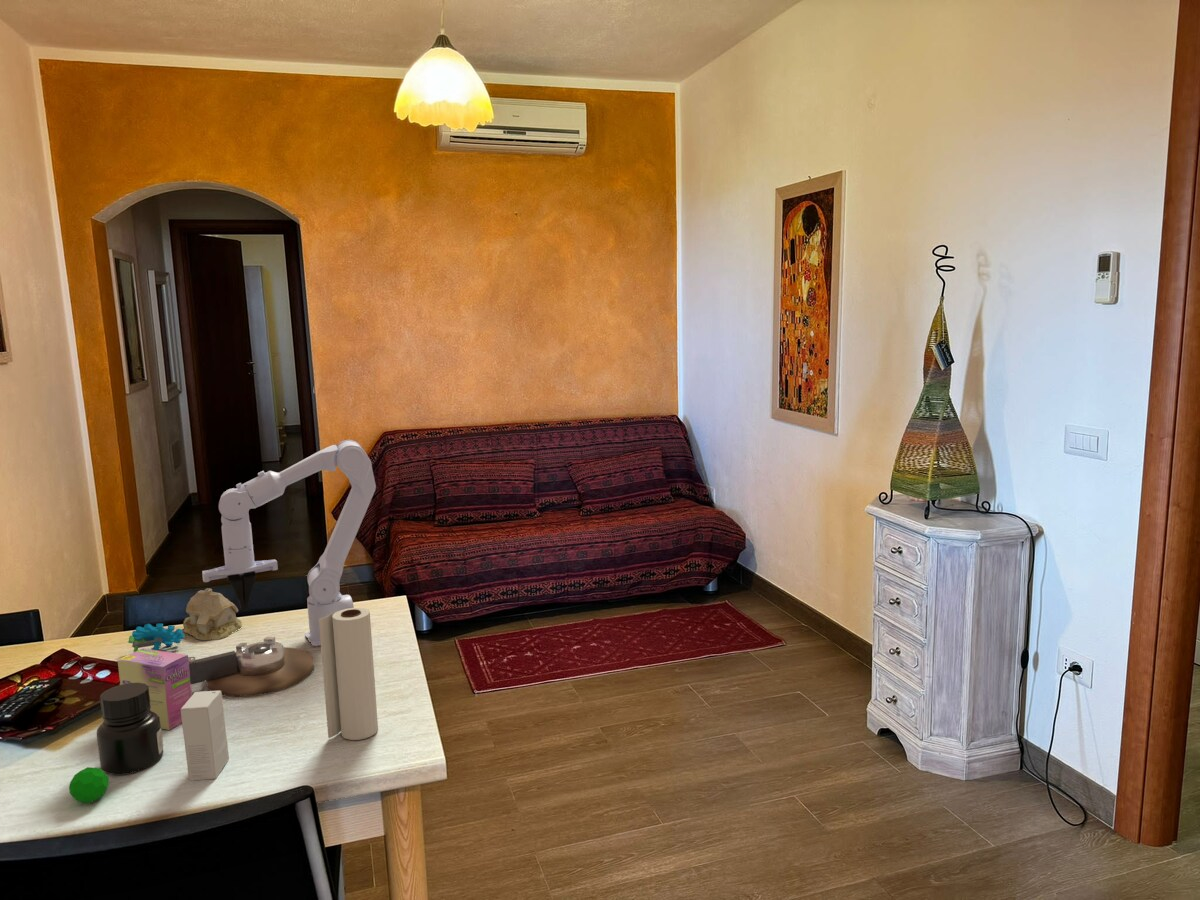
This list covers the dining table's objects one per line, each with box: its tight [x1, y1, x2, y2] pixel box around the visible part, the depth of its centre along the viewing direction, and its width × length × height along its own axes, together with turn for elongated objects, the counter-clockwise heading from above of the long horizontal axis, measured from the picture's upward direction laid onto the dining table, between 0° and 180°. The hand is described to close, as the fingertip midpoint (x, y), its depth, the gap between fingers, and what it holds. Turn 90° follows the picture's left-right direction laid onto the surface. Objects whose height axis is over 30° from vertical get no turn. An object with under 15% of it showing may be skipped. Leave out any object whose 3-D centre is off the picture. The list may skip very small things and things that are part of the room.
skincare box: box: [181, 690, 230, 782], centre depth 132 cm, size 6×4×12 cm
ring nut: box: [188, 636, 285, 685], centre depth 166 cm, size 18×9×5 cm, turn 126°
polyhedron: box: [68, 766, 110, 804], centre depth 126 cm, size 5×5×5 cm
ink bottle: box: [96, 683, 164, 775], centre depth 136 cm, size 10×9×12 cm
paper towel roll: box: [319, 607, 379, 741], centre depth 143 cm, size 7×6×21 cm
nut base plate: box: [205, 646, 315, 697], centre depth 169 cm, size 20×20×2 cm
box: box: [117, 648, 193, 731], centre depth 150 cm, size 10×6×12 cm, turn 71°
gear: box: [128, 623, 185, 653], centre depth 180 cm, size 11×6×10 cm
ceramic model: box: [182, 587, 243, 641], centre depth 193 cm, size 14×11×10 cm
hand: (244, 607), depth 180 cm, fingers closed
